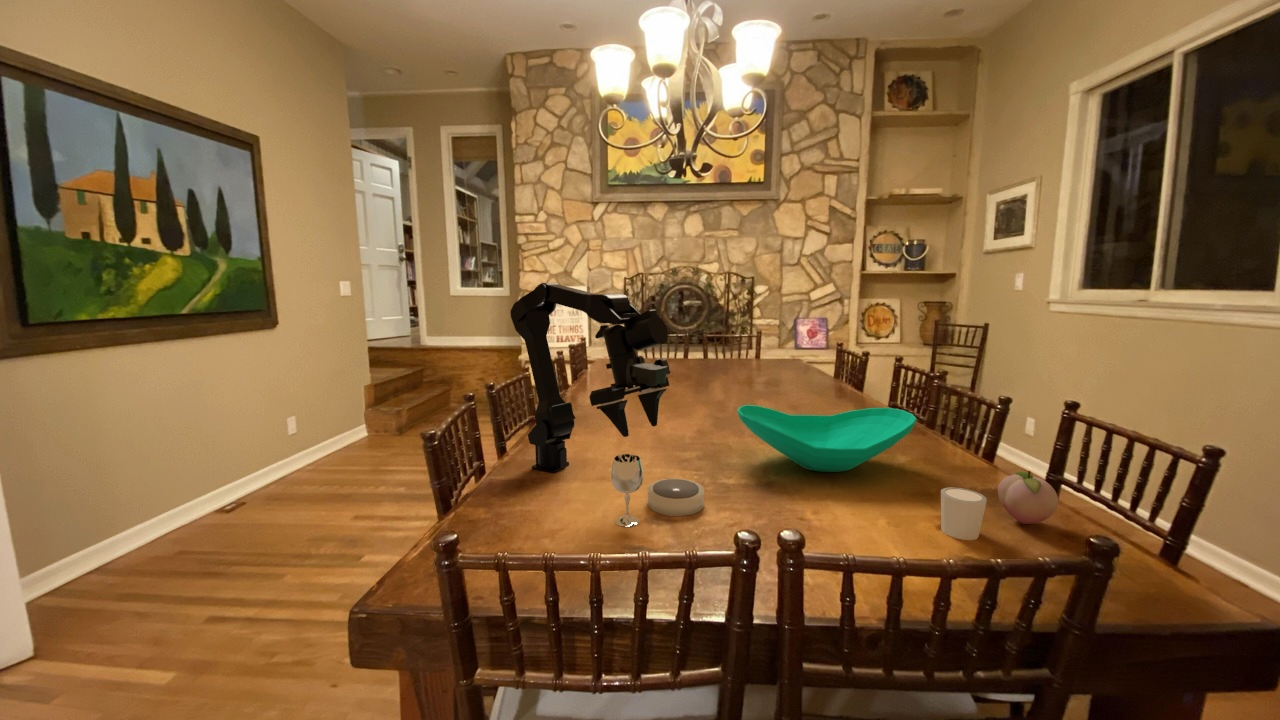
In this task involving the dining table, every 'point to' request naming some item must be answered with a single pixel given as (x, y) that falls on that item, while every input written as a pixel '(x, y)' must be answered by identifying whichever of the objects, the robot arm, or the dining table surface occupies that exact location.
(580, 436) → the dining table surface
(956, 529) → the white cup
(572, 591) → the dining table surface
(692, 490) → the disc
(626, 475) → the wineglass
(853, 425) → the table top decor
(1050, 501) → the decorative fruit
